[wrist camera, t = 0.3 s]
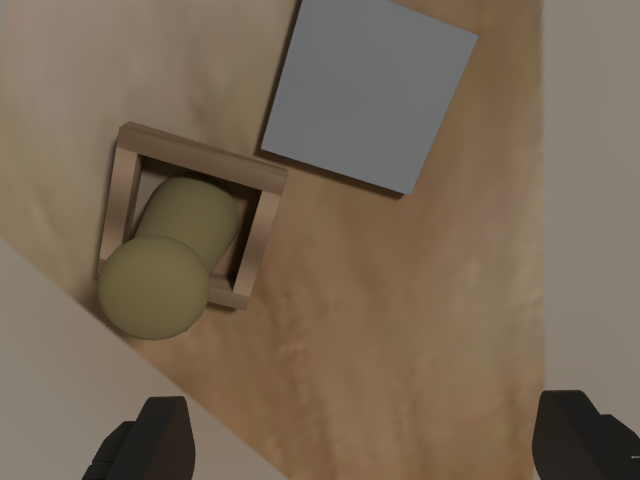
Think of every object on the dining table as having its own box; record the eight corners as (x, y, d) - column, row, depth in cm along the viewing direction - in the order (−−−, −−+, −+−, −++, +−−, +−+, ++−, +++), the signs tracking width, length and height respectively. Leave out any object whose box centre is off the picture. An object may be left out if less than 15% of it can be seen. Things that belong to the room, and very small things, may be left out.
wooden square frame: (129, 121, 28) (119, 127, 27) (287, 169, 30) (286, 178, 28) (107, 260, 32) (96, 273, 31) (248, 297, 34) (245, 310, 32)
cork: (236, 172, 30) (204, 246, 20) (242, 256, 33) (217, 358, 23) (141, 173, 30) (61, 248, 20) (155, 258, 32) (90, 362, 22)
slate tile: (310, -28, 26) (310, -29, 25) (474, 35, 27) (478, 35, 26) (261, 145, 29) (260, 148, 29) (407, 191, 31) (410, 195, 30)
